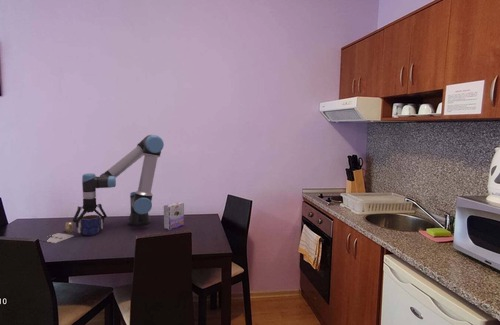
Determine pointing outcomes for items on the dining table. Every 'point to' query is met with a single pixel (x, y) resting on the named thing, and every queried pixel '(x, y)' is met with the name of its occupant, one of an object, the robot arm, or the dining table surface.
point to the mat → (59, 237)
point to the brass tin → (69, 227)
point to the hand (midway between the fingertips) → (90, 230)
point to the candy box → (173, 215)
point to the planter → (90, 224)
